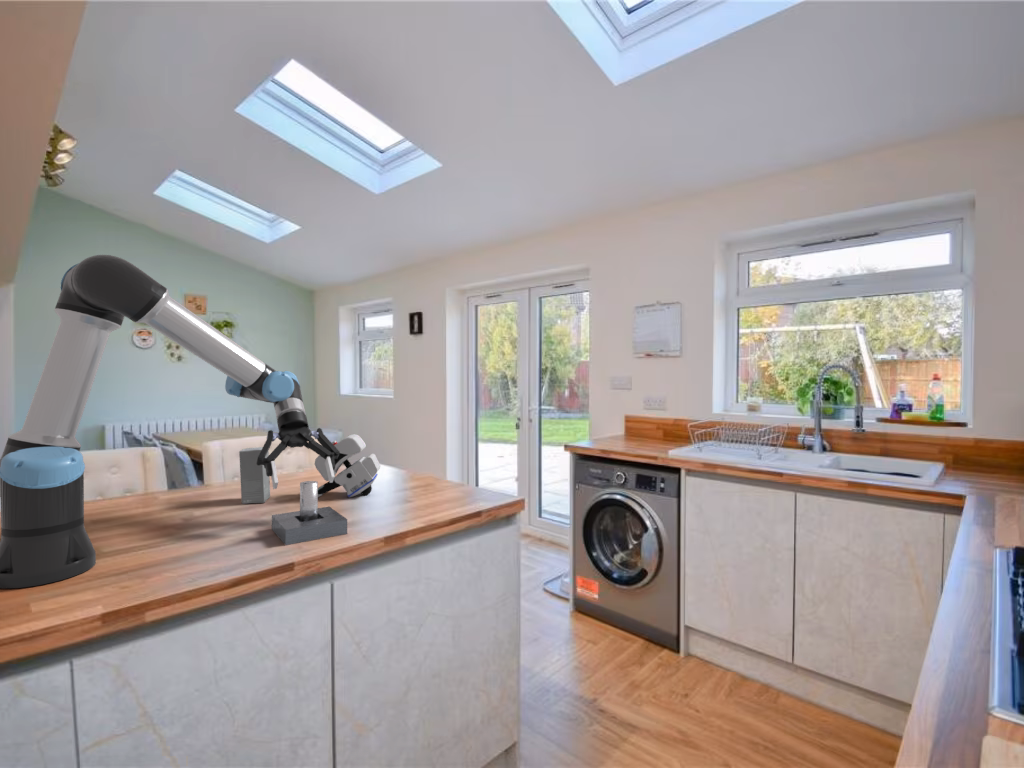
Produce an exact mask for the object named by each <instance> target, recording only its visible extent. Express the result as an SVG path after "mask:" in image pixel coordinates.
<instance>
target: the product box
mask: <svg viewBox="0 0 1024 768" xmlns="http://www.w3.org/2000/svg"><path fill="white" fill-rule="evenodd" d="M262 448H263V446H261V447H260V446H259V447H247V448H243V449H241V450H239V452H238V453H239V456H238V457H239V473H240V494H241V496H240V498H241V504H264V503H265V502H267V500H268V499H270V498H271V485H270V484H271V483H270V482H271V480H270V479H271V478H270V477H271V476H267V475H266V468H264V465H257V464H256V463H257V459H258V456H259V454H260V452H261V450H262ZM269 451H270V449H269V450H268V452H267V454H266V456H265V458H267V457H268V456H269V455H270V453H269Z"/></svg>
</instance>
